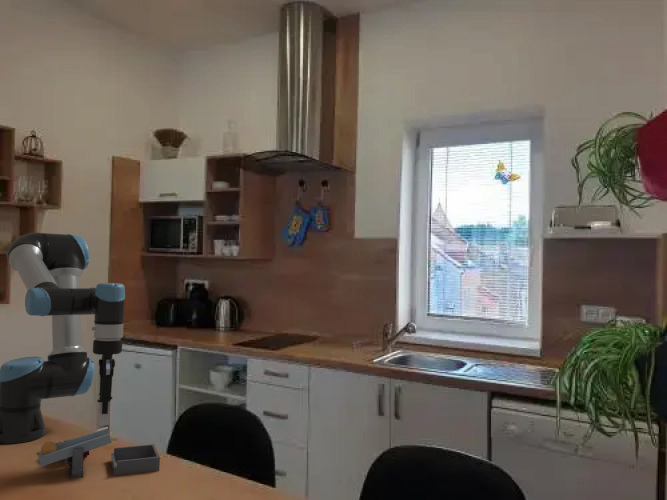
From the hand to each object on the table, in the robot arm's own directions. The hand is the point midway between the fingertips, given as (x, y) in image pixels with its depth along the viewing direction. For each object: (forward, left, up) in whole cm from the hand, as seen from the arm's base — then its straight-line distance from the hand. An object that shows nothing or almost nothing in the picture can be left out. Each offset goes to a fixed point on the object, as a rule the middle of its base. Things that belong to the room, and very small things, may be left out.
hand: (103, 424), depth 154 cm
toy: (-6, -9, -10) cm, 15 cm away
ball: (+7, -13, -3) cm, 15 cm away
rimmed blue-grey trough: (+4, -7, -4) cm, 9 cm away
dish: (+7, +8, -10) cm, 14 cm away
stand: (+7, -6, -10) cm, 13 cm away
